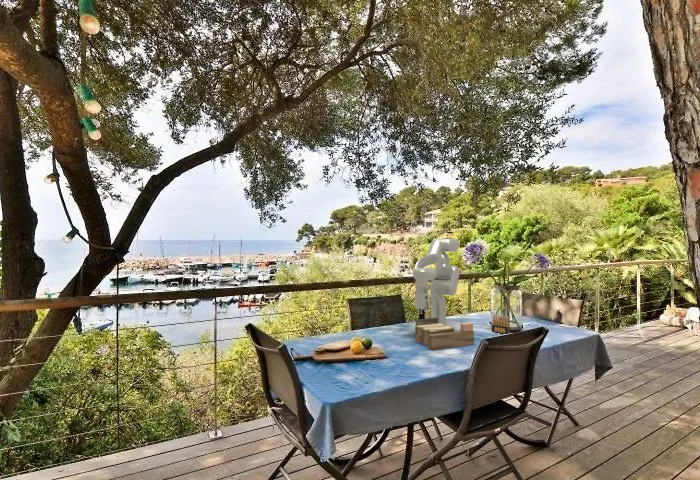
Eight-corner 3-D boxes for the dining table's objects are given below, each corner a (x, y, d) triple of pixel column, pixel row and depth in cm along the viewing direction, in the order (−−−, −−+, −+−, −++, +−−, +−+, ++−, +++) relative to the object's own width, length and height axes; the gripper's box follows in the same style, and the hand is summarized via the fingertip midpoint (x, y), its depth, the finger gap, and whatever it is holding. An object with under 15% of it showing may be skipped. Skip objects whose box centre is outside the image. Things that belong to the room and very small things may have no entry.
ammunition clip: (491, 332, 274) (491, 313, 273) (493, 332, 275) (493, 313, 275) (508, 335, 266) (508, 316, 266) (509, 335, 268) (509, 315, 267)
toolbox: (412, 341, 254) (412, 327, 254) (451, 336, 266) (451, 323, 265) (432, 350, 235) (432, 335, 235) (474, 344, 247) (474, 330, 246)
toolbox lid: (415, 326, 255) (415, 319, 255) (437, 324, 261) (437, 317, 261) (430, 332, 240) (430, 325, 240) (454, 329, 247) (454, 322, 246)
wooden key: (460, 330, 247) (460, 323, 247) (468, 329, 250) (468, 322, 250) (464, 331, 244) (464, 324, 244) (473, 330, 246) (473, 323, 246)
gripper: (434, 291, 257) (434, 322, 257) (420, 288, 270) (420, 317, 271) (423, 292, 254) (423, 323, 254) (410, 288, 267) (410, 318, 268)
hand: (421, 320), depth 263 cm, fingers closed
